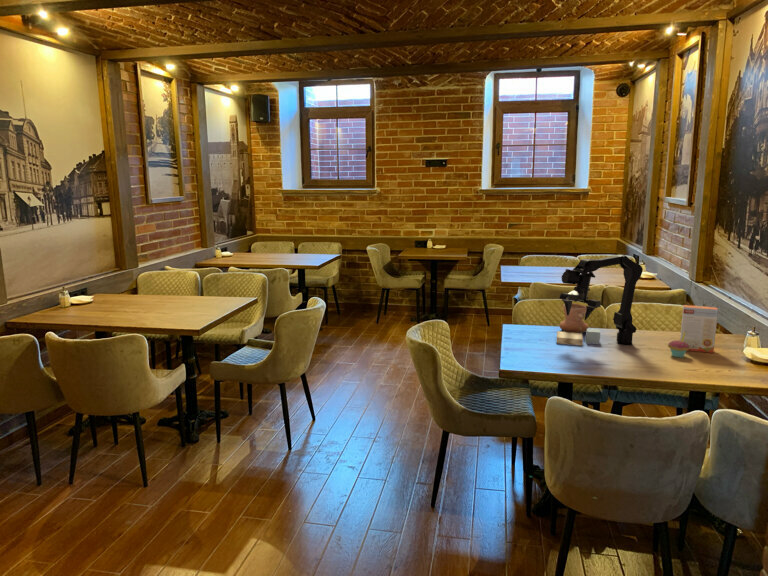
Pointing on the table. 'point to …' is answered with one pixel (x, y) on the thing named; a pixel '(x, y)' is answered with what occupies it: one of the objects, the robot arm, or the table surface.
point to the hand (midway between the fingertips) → (576, 317)
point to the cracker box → (699, 327)
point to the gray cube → (593, 336)
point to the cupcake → (678, 347)
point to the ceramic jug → (574, 319)
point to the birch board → (569, 338)
